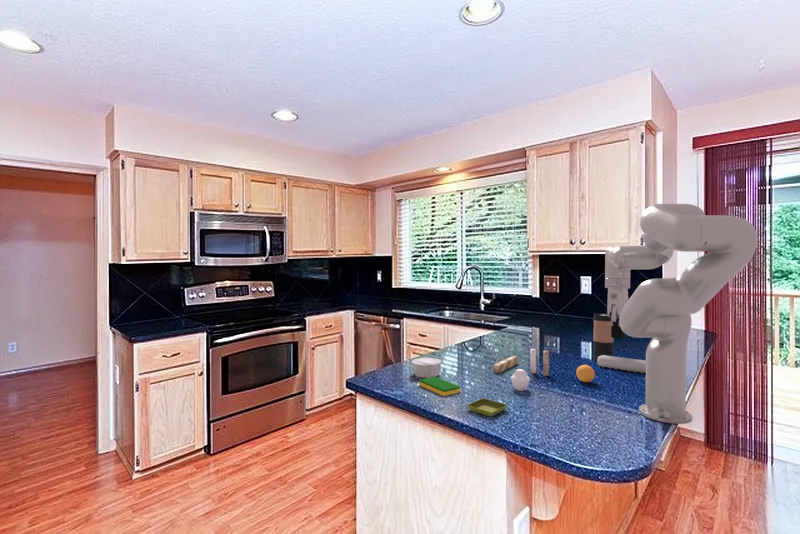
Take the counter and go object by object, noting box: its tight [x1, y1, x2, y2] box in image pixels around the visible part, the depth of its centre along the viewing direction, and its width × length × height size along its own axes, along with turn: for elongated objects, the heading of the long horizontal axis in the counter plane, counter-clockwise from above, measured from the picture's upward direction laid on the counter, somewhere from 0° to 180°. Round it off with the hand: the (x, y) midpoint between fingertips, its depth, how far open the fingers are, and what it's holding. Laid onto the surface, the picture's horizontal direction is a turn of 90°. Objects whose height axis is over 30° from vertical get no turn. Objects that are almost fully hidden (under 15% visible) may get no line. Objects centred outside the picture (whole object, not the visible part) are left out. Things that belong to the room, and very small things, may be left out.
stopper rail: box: [493, 355, 519, 374], centre depth 165 cm, size 18×2×3 cm, turn 141°
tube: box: [596, 355, 646, 374], centre depth 160 cm, size 5×5×25 cm
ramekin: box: [411, 357, 442, 379], centre depth 157 cm, size 11×11×5 cm
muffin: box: [510, 368, 531, 392], centre depth 139 cm, size 6×6×7 cm
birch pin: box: [542, 350, 550, 377], centre depth 155 cm, size 2×2×9 cm
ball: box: [575, 364, 596, 383], centre depth 147 cm, size 6×6×6 cm
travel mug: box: [593, 312, 615, 363], centre depth 175 cm, size 8×8×20 cm
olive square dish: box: [466, 397, 508, 417], centre depth 120 cm, size 9×9×2 cm
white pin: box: [529, 348, 537, 374], centre depth 158 cm, size 2×2×9 cm
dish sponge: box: [418, 376, 461, 397], centre depth 140 cm, size 7×14×2 cm, turn 33°
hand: (616, 337), depth 140 cm, fingers closed
